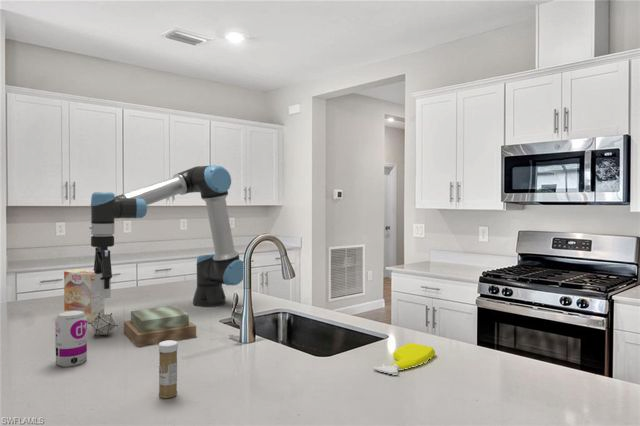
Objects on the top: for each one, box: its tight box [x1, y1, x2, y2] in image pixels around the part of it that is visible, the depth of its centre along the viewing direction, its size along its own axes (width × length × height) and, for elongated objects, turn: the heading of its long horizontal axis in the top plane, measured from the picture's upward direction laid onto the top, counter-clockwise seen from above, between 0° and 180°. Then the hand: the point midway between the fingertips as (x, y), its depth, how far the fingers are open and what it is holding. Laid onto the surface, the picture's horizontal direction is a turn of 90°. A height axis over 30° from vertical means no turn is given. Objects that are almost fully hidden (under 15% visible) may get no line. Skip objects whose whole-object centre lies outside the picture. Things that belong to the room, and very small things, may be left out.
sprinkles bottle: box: [158, 340, 179, 399], centre depth 116 cm, size 5×5×13 cm
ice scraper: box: [372, 342, 436, 375], centre depth 141 cm, size 3×11×24 cm
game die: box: [87, 312, 119, 338], centre depth 165 cm, size 9×8×10 cm
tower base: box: [123, 305, 197, 348], centre depth 167 cm, size 20×20×8 cm
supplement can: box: [54, 310, 88, 368], centre depth 138 cm, size 8×8×15 cm
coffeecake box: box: [63, 268, 105, 323], centre depth 188 cm, size 15×7×20 cm, turn 68°
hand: (102, 294), depth 165 cm, fingers open, 13 cm apart
